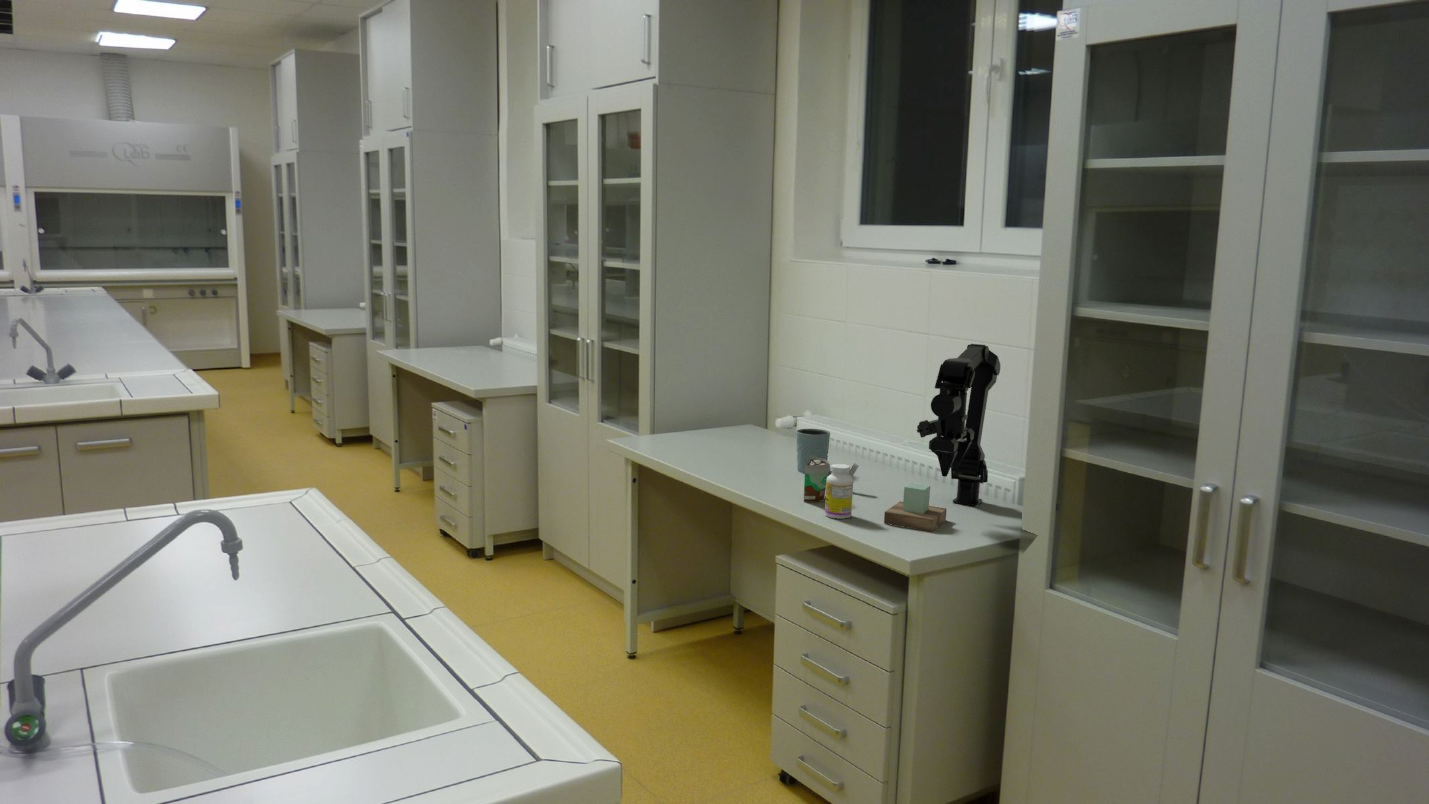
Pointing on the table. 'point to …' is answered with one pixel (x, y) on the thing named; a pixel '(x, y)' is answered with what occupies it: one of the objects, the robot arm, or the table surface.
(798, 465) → the grey plant pot
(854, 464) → the lighter
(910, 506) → the green block
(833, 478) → the supplement bottle
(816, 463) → the food container
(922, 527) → the walnut base
